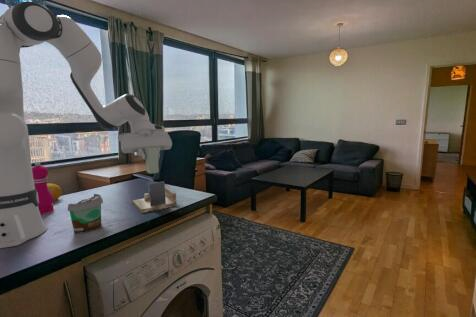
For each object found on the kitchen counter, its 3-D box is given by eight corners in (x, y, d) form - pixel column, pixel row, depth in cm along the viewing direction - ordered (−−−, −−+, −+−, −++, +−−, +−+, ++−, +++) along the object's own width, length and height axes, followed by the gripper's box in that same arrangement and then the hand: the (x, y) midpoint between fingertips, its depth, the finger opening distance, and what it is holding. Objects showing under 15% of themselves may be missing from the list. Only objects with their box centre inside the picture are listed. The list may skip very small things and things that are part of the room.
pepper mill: (37, 209, 110) (30, 161, 107) (57, 207, 112) (51, 159, 109) (29, 215, 103) (22, 164, 100) (51, 213, 105) (44, 162, 102)
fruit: (52, 197, 126) (50, 180, 125) (66, 198, 124) (64, 181, 123) (34, 203, 118) (31, 185, 117) (48, 205, 116) (45, 186, 114)
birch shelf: (141, 213, 103) (140, 199, 103) (132, 203, 115) (131, 191, 114) (176, 205, 111) (175, 192, 110) (165, 197, 123) (164, 185, 122)
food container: (87, 236, 84) (83, 205, 83) (70, 235, 85) (66, 204, 84) (113, 221, 96) (110, 194, 95) (97, 220, 97) (95, 193, 96)
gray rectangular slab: (150, 206, 106) (149, 184, 105) (150, 205, 107) (148, 183, 106) (165, 203, 110) (164, 181, 108) (164, 202, 111) (163, 181, 109)
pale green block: (149, 173, 107) (148, 148, 105) (146, 171, 111) (144, 147, 109) (158, 172, 109) (157, 147, 107) (155, 170, 113) (153, 146, 111)
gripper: (117, 128, 108) (125, 155, 101) (167, 126, 119) (177, 150, 112) (116, 138, 112) (123, 165, 105) (164, 136, 123) (173, 159, 117)
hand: (151, 157), depth 109 cm, fingers closed on pale green block, 4 cm apart
